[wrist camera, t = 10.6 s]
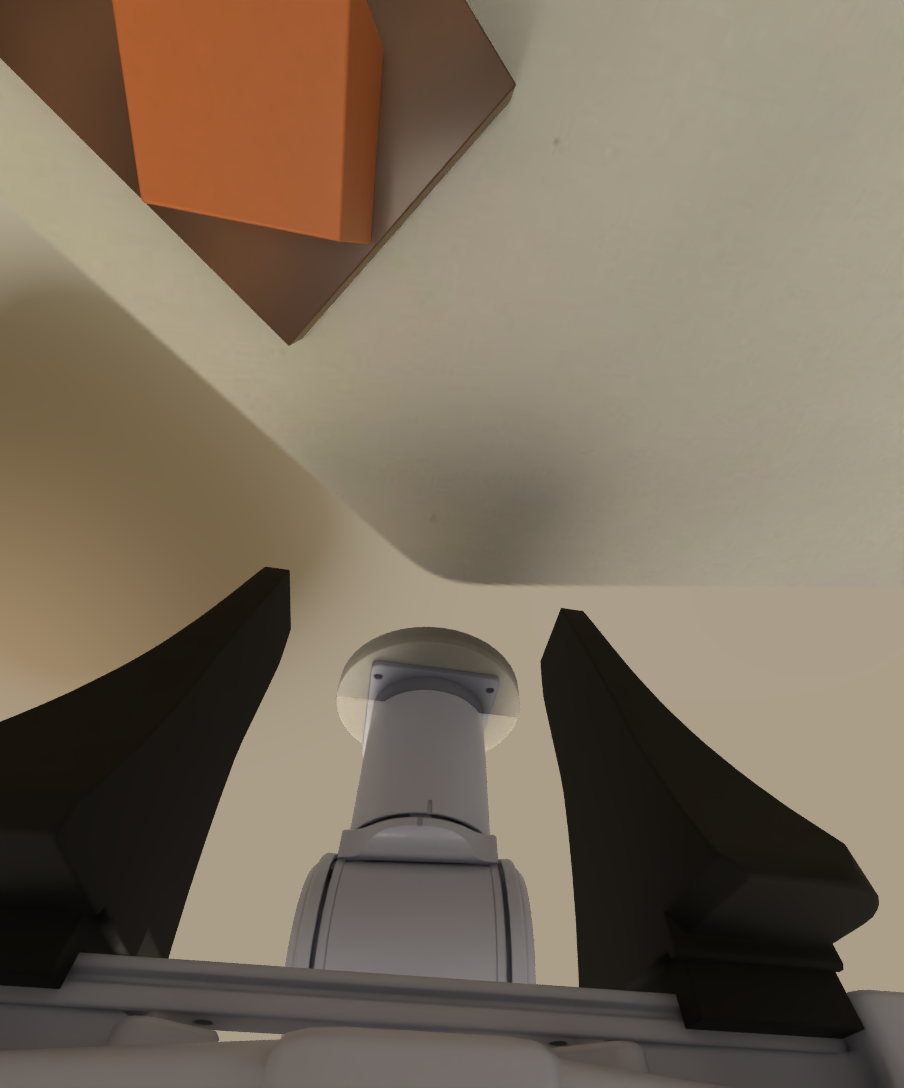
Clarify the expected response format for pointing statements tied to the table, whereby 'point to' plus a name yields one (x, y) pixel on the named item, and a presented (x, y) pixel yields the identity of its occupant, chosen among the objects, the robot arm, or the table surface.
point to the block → (256, 110)
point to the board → (254, 251)
